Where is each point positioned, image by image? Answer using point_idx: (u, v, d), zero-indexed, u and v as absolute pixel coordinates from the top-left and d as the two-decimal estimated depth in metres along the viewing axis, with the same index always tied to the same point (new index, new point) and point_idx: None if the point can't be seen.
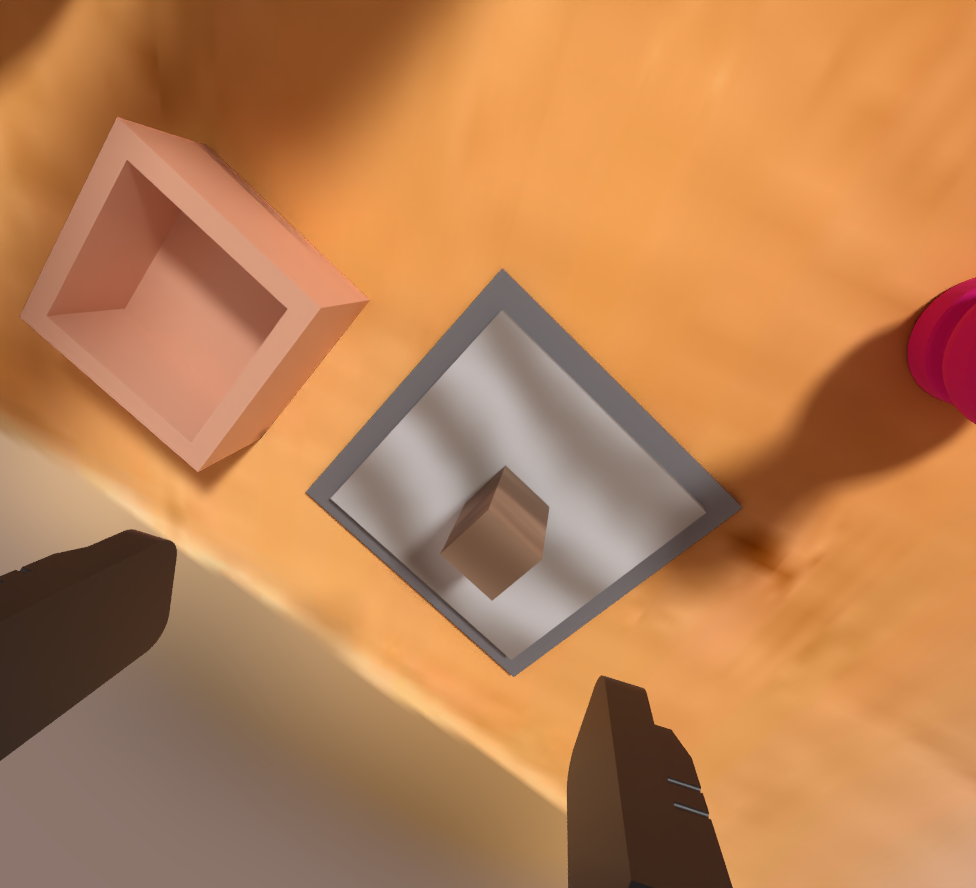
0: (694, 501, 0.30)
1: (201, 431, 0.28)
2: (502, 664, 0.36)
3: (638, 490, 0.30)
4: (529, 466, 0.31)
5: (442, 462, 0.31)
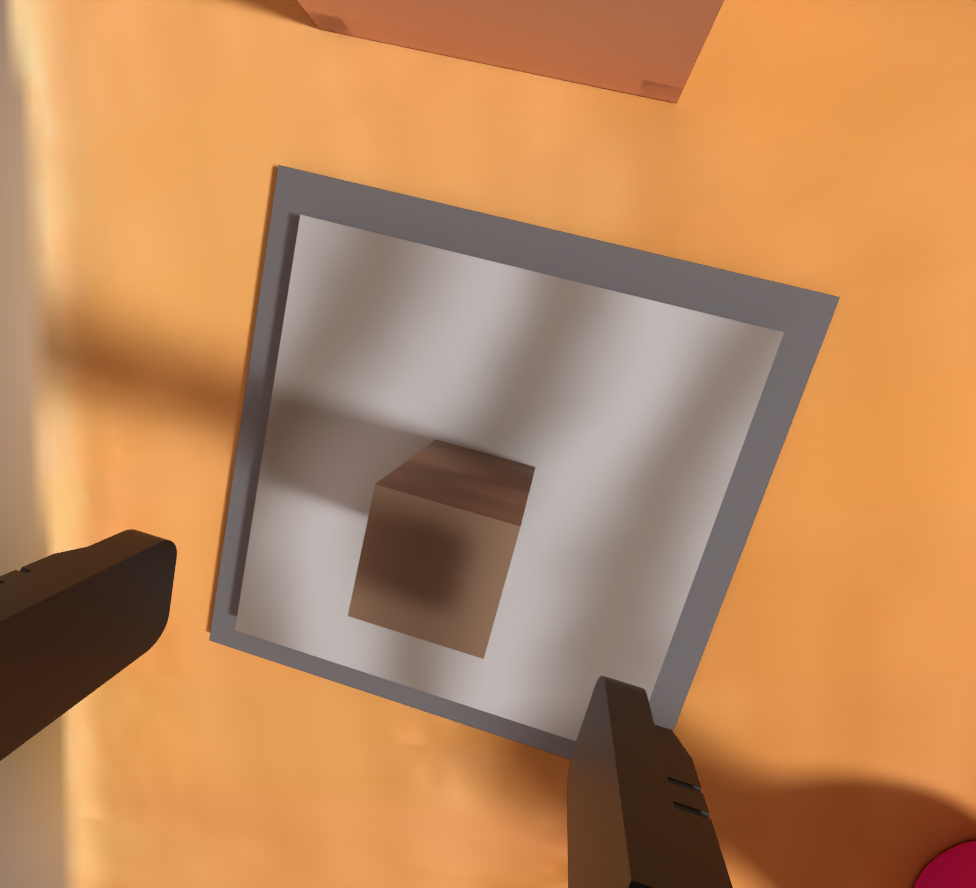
0: None
1: None
2: (216, 616, 0.22)
3: (608, 663, 0.19)
4: (555, 501, 0.18)
5: (481, 369, 0.18)
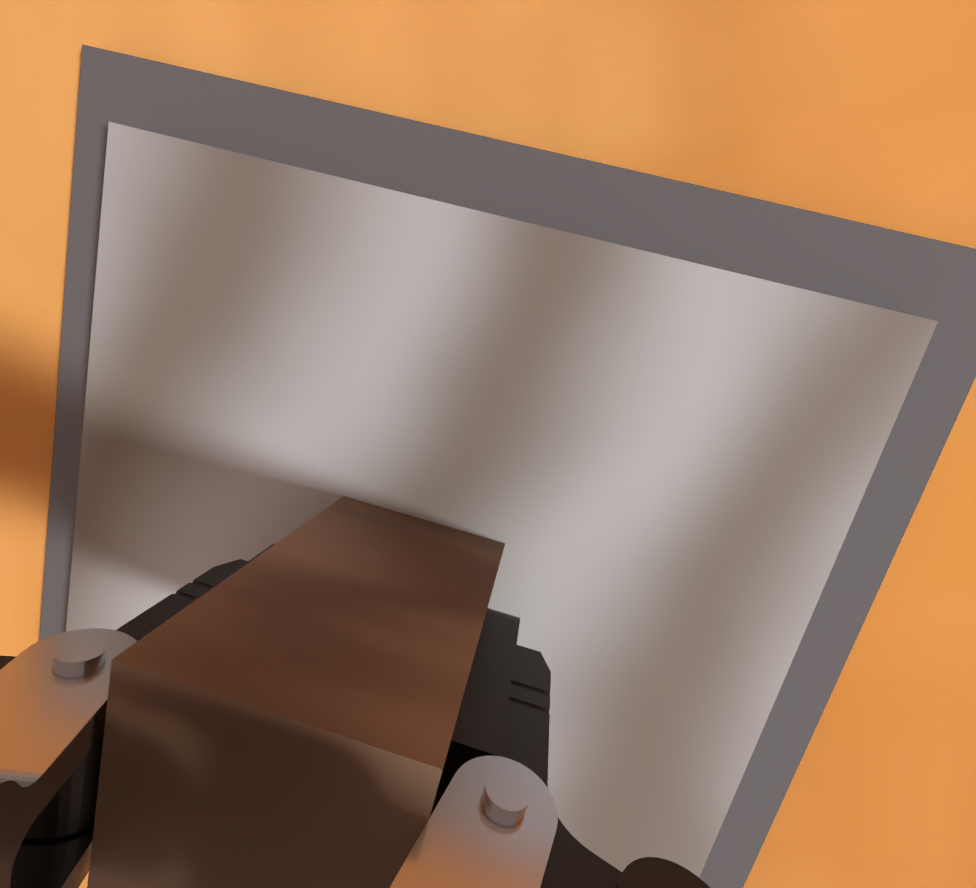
0: None
1: None
2: None
3: (622, 848, 0.12)
4: (537, 599, 0.11)
5: (414, 383, 0.11)
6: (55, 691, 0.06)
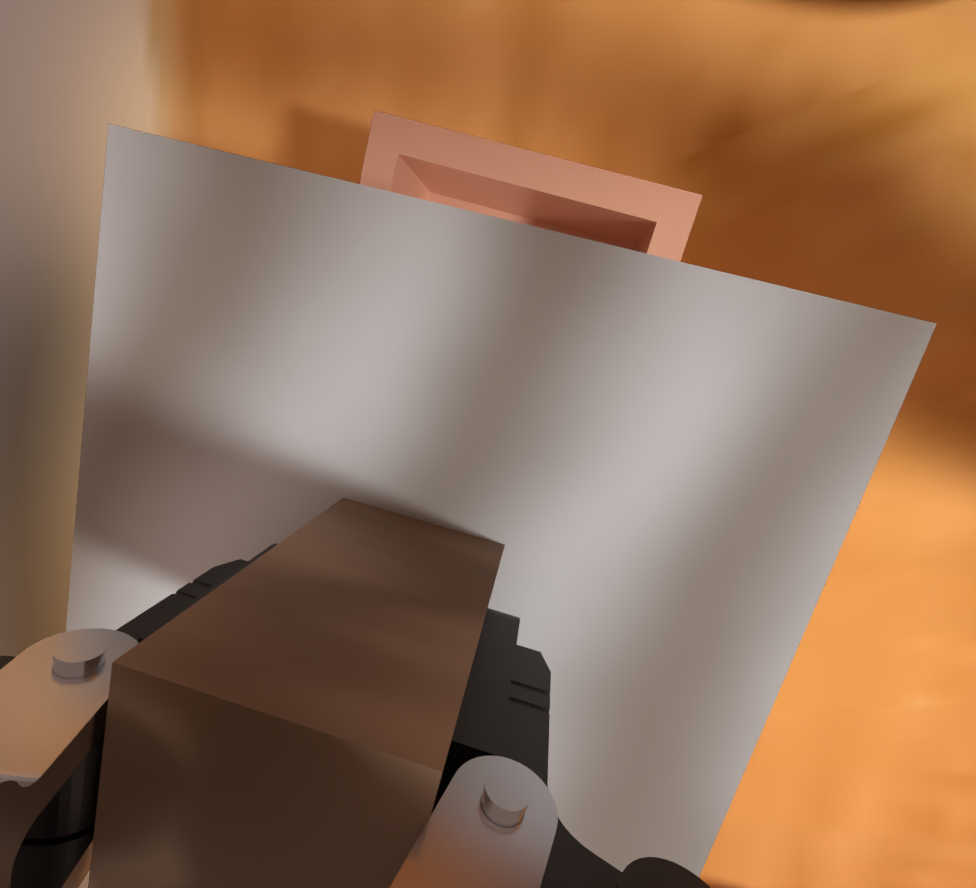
0: None
1: None
2: None
3: (622, 849, 0.12)
4: (537, 600, 0.11)
5: (413, 385, 0.11)
6: (55, 691, 0.06)
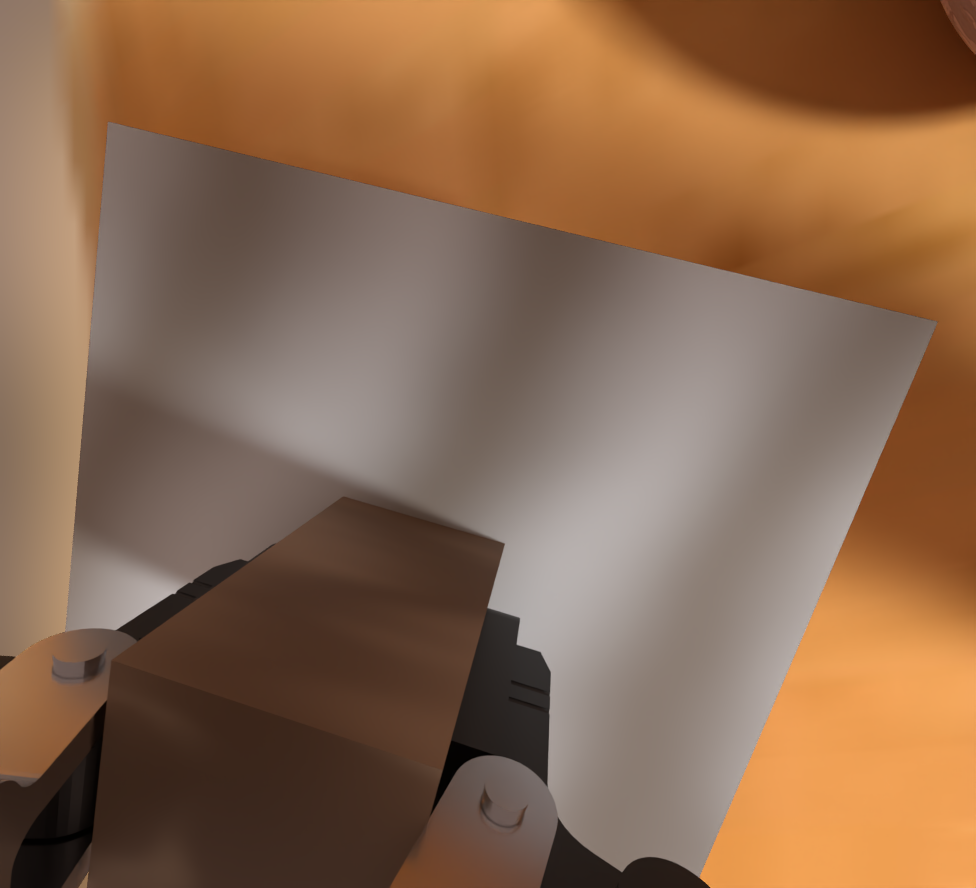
0: None
1: None
2: None
3: (622, 848, 0.12)
4: (537, 599, 0.11)
5: (413, 384, 0.11)
6: (55, 691, 0.06)
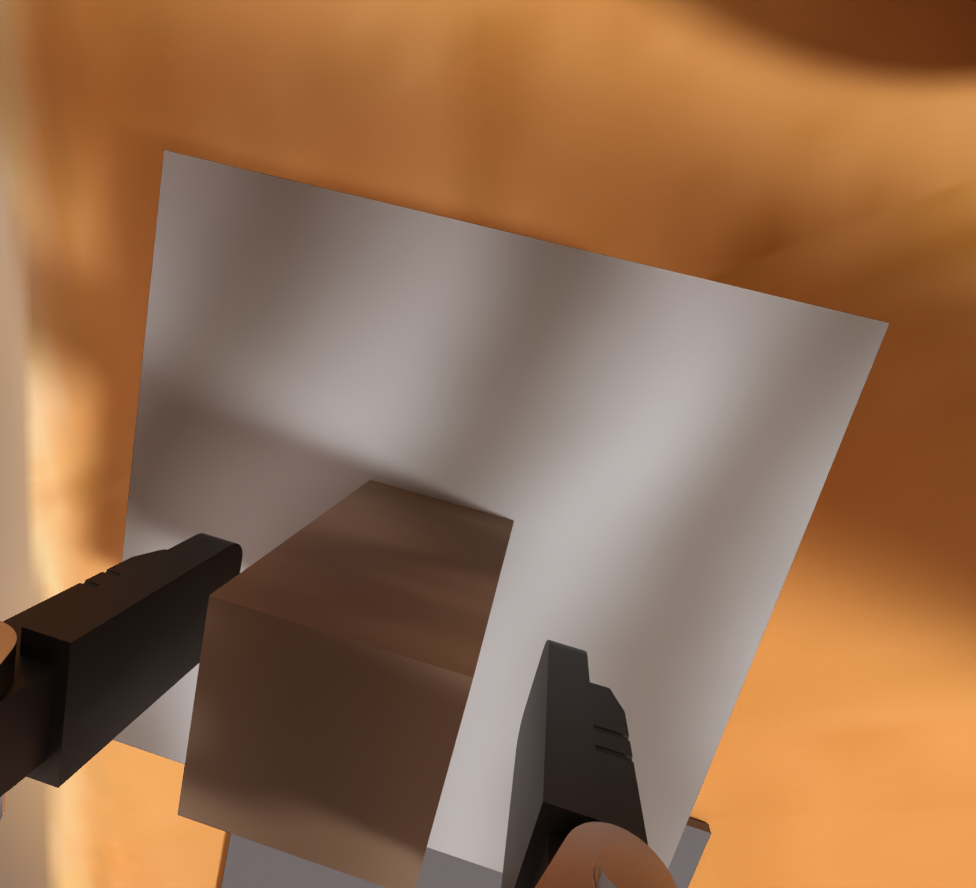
0: None
1: None
2: None
3: None
4: (542, 570, 0.13)
5: (433, 379, 0.12)
6: None
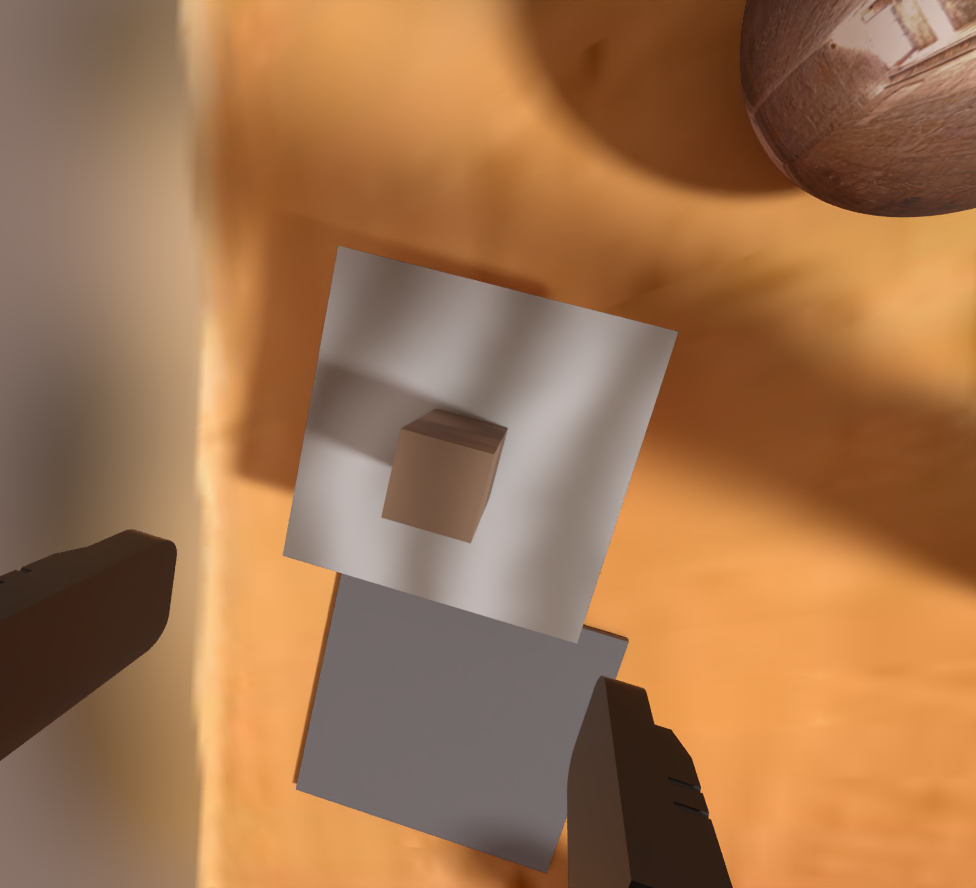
0: (581, 626, 0.27)
1: None
2: (300, 776, 0.38)
3: (561, 572, 0.26)
4: (522, 453, 0.25)
5: (468, 357, 0.25)
6: None
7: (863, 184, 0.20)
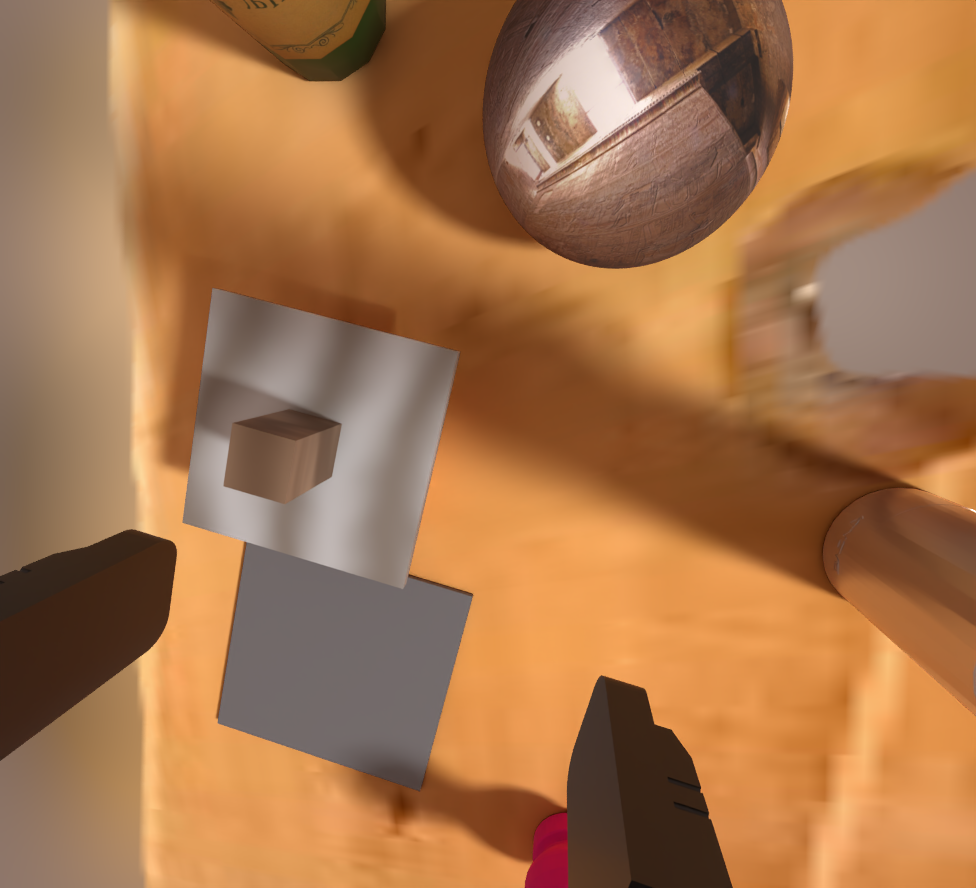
0: (405, 576, 0.35)
1: None
2: (221, 712, 0.47)
3: (388, 533, 0.34)
4: (353, 442, 0.34)
5: (310, 371, 0.33)
6: None
7: (560, 249, 0.28)
